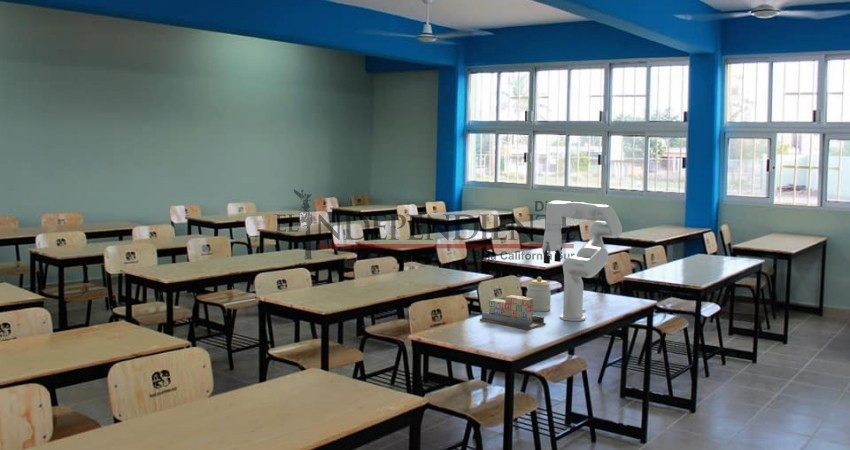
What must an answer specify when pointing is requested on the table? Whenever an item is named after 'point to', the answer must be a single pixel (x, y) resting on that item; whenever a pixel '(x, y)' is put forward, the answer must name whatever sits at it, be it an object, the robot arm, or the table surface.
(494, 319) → the track
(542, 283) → the jar
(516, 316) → the stack of blocks
